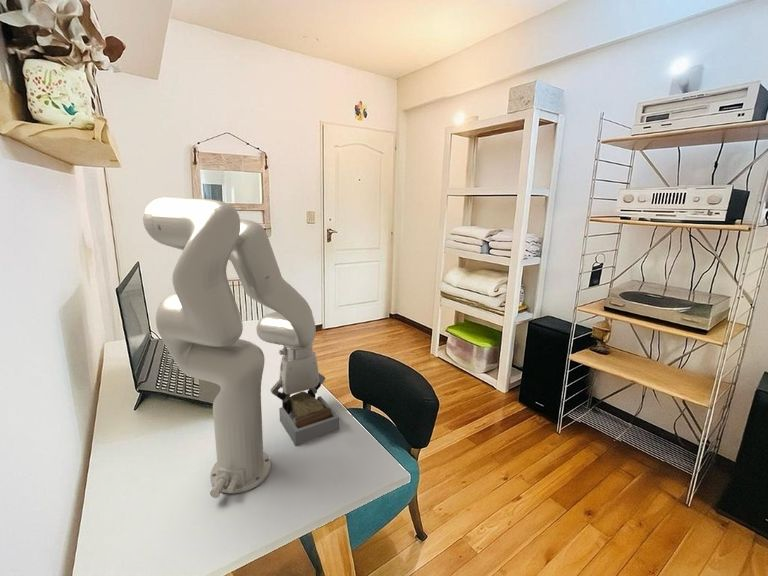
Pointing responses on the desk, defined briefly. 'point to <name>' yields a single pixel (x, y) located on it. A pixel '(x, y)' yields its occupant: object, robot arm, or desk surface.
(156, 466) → the desk surface
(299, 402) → the stone block
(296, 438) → the grey open square tray
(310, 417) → the wooden board
